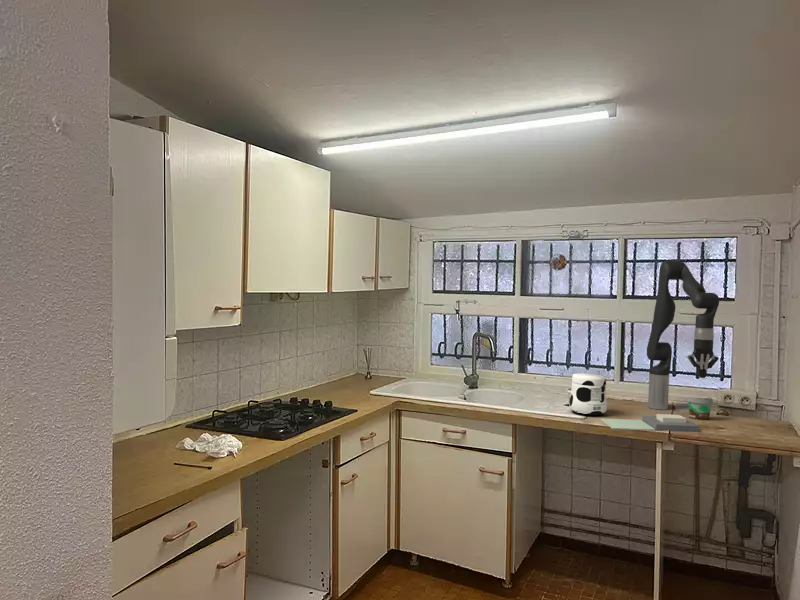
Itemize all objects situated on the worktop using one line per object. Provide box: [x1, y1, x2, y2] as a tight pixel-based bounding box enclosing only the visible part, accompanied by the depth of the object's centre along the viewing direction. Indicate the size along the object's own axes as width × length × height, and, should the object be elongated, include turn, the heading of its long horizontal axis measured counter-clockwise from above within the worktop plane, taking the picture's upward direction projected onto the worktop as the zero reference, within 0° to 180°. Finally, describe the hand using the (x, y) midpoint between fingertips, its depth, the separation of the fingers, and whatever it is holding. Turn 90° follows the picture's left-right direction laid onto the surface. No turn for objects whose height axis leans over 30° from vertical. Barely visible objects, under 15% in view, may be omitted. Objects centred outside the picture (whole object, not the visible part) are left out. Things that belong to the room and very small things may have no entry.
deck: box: [641, 415, 700, 433], centre depth 261 cm, size 16×18×2 cm
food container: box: [687, 395, 714, 421], centre depth 277 cm, size 12×6×10 cm, turn 105°
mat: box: [600, 418, 656, 431], centre depth 262 cm, size 17×18×1 cm
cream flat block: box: [656, 413, 687, 423], centre depth 261 cm, size 7×10×2 cm
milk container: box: [568, 372, 608, 416], centre depth 283 cm, size 17×17×18 cm
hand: (702, 377), depth 260 cm, fingers closed
